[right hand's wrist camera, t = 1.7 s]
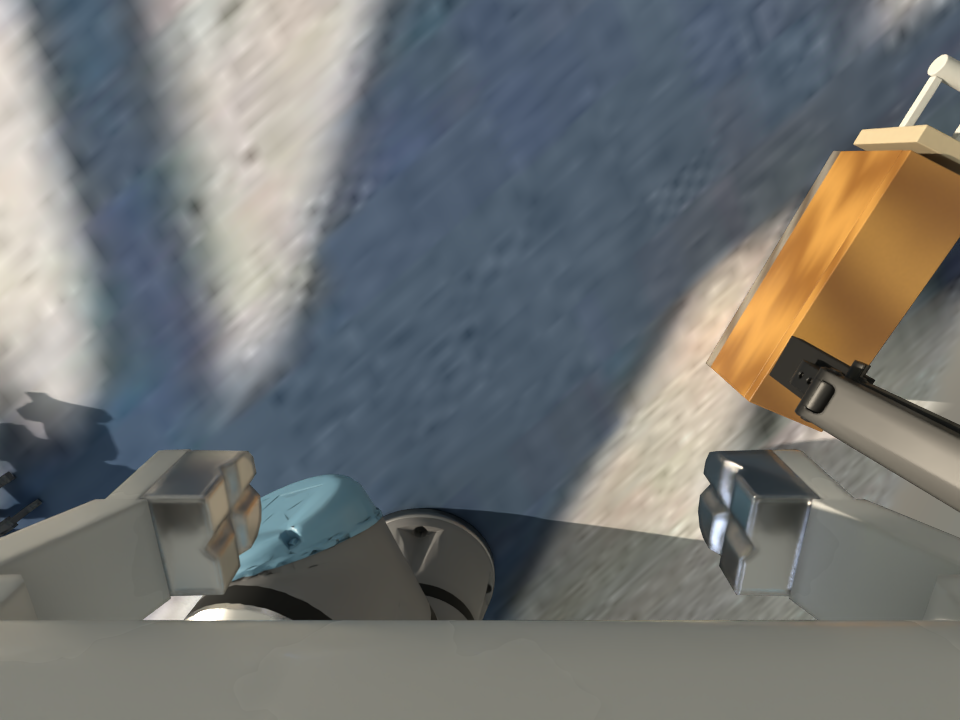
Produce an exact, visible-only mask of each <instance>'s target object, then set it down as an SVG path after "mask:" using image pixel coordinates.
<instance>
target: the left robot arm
mask: <svg viewBox="0 0 960 720" xmlns="http://www.w3.org/2000/svg"><path fill="white" fill-rule="evenodd" d="M870 367H871V366H870V365H868V364H865V363H863V362H860V361H858V360H854V362H853V364H852V365H851V366H849V365H847V364H846V363H844V362H842V361H840V360H839V359H837V358H835V357H833V356H831V355H830V354H828V353H826V352H824V351H823V350H821V349H819V348H817V347H815V346H814V345H812V344H810V343H808V342H806V341H805V340H803V339H800V338H798V337H795V336H791V338H790V339H789V341H788V343H787V345H786V346H785V348H784V350H783V352H782V353H781V355H780V357H779V359H778V360H777V362H776V364H775V365H774V367H773V369H772V371H771V372H770V374H769V375H770V376H771V377H772V378H774V379H775V380H776V381H778V382H779V383H780V384H782V385H783V386H784V387H786V388H787V389H788V390H790V391H791V392H792V393H794V394H795V395H796V396H798V397H799V398H800V399H801V401H800V402H799V404H798V406H797V407H796V409H795V411H794V412H795V413H796V414H797V415H798V416H800V418H801V419H803V420H804V421H806V422H809V423H812V424H814V425H816V426H817V427H819V428H821V429H822V430H824V431H826V432H827V433H829V434H831V435H832V436H834V437H836V438H837V439H839V440H841V441H842V442H844V443H846V444H847V445H849V446H851V447H852V448H854V449H856V450H857V451H859V452H860V453H862V454H864V455H865V456H867V457H869V458H870V459H872V460H874V461H875V462H877V463H879V464H880V465H882V466H884V467H885V468H887V469H889V470H890V471H892V472H894V473H895V474H897V475H899V476H900V477H902V478H904V479H905V480H907V481H909V482H910V483H912V484H914V485H915V486H917V487H919V488H920V489H922V490H924V491H925V492H927V493H929V494H930V495H932V496H934V497H935V498H937V499H938V500H940V501H942V502H943V503H945V504H947V505H948V506H950V507H952V508H953V509H955V510H957V511H959V512H960V425H959V424H957V423H954V422H952V421H950V420H948V419H946V418H944V417H942V416H939V415H937V414H935V413H933V412H931V411H929V410H927V409H924V408H922V407H920V406H918V405H916V404H914V403H911V402H909V401H907V400H905V399H903V398H901V397H899V396H896V395H894V394H892V393H890V392H888V391H886V390H884V389H881V388H879V387H877V386H875V385H873V383H874V381H875V380H874V379H872V378H871V377H869V376H867V375H866V373H867V371H868V370H869V368H870ZM260 499H261V506H262V515H261V524H260V528H259V532H258V536H257V538H256V540H255V542H254V544H253V546H252V547H251V548H250V549H249V550H247V551H246V552H244V553H242V554H241V555H239V559H240V565H241V566H240V568H239V570H238V571H237V573H236V575H235V576H234V578H233V580H232V582H231V583H230V585H229V587H228V588H227V590H226V592H225V593H224V595H203V596H202V598H201V599H200V600H199V601H198V602H197V604H196V605H195V606H194V608H193V609H192V610H191V611H190V613H189V614H188V615H187V616H186V618H185V619H184V620H482V619H483V617H484V615H485V612H486V610H487V607H488V605H489V603H490V600H491V597H492V593H493V589H494V582H495V571H494V560H493V556H492V553H491V550H490V548H489V546H488V544H487V542H486V541H485V539H484V538H483V537H482V535H481V534H480V533H479V532H478V531H477V530H476V529H475V528H474V527H473V526H471V525H470V524H469V523H467V522H466V521H464V520H462V519H460V518H459V517H457V516H454V515H452V514H449V513H446V512H443V511H439V510H433V509H407V510H401V511H397V512H394V513H391V514H388V515H386V516H384V517H383V516H382V512H381V510H379V508H376V507H375V506H374V504H373V503H372V501H371V500H370V498H369V496H368V495H367V493H366V492H365V490H364V489H363V487H362V486H361V485H360V484H359V483H358V482H357V481H354V480H353V479H352V478H350V477H347V476H344V475H339V474H328V475H321V476H315V477H312V478H308V479H304V480H301V481H298V482H296V483H293V484H290V485H288V486H285V487H283V488H281V489H278V490H276V491H274V492H272V493H270V494H268V495H266V496H264V497H262V498H260Z"/></svg>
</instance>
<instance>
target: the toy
mask: <svg viewBox="0 0 960 720" xmlns="http://www.w3.org/2000/svg"><path fill="white" fill-rule="evenodd" d="M13 479H15V477H14V476H13V475H12V474H11V473H10V472H7V473H6V474H4V475H3V476H1V477H0V488H1V487H3V486H4V485H6V484H7V483H9V482H10V481H12V480H13ZM40 504H42V503H41V502H40V501H39V500H38V499H37V500H36V501H34V502H33V503H31V504H29V505H28V506H26V507H25V508H24V509H22V510H21V511H20V512H19V513H17V514H16V515H15V516H13V517H12V518H11V517H10V516H9V517H7V518H6V519H4V520H3V521H2V522H0V537H1V536H3V535H4V534H6V533H7V532H9V531H10V530H12V529H14V528H15V527H16V526H17V525H18V524H17V522H18V521H19V520H20V519H22V518H23V517H24V516H25V515H27V514H28V513H29V512H31V511H32V510H34V509H35V508H36V507H38V506H39V505H40Z"/></svg>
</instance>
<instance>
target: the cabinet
mask: <svg viewBox="0 0 960 720" xmlns="http://www.w3.org/2000/svg"><path fill="white" fill-rule="evenodd" d="M959 238H960V175H959V174H957V173H955V172H953V171H951V170H949V169H947V168H945V167H943V166H941V165H939V164H937V163H936V162H934V161H932V160H930V159H928V158H926V157H924V156H922V155H920V154H918V153H916V152H914V151H912V150H882V151H833V152H832V154H831V156H830V157H829V159H828V161H827V162H826V164H825V166H824V167H823V169H822V171H821V172H820V174H819V176H818V177H817V179H816V181H815V182H814V184H813V186H812V187H811V189H810V191H809V192H808V194H807V196H806V197H805V199H804V201H803V202H802V204H801V206H800V207H799V209H798V211H797V212H796V214H795V216H794V217H793V219H792V221H791V222H790V224H789V226H788V227H787V229H786V231H785V232H784V234H783V236H782V237H781V239H780V241H779V242H778V244H777V246H776V247H775V249H774V251H773V252H772V254H771V256H770V257H769V259H768V261H767V262H766V264H765V266H764V267H763V269H762V271H761V272H760V274H759V276H758V277H757V279H756V281H755V282H754V284H753V286H752V287H751V289H750V291H749V292H748V294H747V296H746V297H745V299H744V301H743V302H742V304H741V306H740V307H739V309H738V311H737V312H736V314H735V316H734V317H733V319H732V321H731V322H730V324H729V326H728V327H727V329H726V331H725V332H724V334H723V336H722V337H721V339H720V341H719V342H718V344H717V346H716V347H715V349H714V351H713V352H712V354H711V356H710V357H709V359H708V361H707V362H706V364H707V365H708V366H710V367H711V368H712V369H713V370H714V371H716V372H717V373H718V374H719V375H720V376H721V377H722V378H723V379H724V380H726V381H727V382H728V383H729V384H730V385H731V386H732V387H733V388H734V389H735V390H737V391H738V392H739V393H740V394H741V395H742V396H743V397H745V398H746V399H747V400H748V401H749V402H751V403H754V404H756V405H758V406H761V407H763V408H765V409H768V410H770V411H773V412H775V413H777V414H780V415H782V416H784V417H787V418H789V419H792V420H794V421H796V422H799V423H801V424H804V425H806V426H808V427H811V428H813V429H815V430H818V431H820V432H822V431H823V430H822V429H821V428H819V427H817V426H816V425H814V424H812V423H809V422H806V421H804V420H803V419H801V418H800V416H798V415H797V414H796V413H795V412H794V411H795V409H796V407H797V406H798V404H799V402H800V401H801V399H800V398H799V397H798V396H796V395H795V394H794V393H792V392H791V391H790V390H788V389H787V388H786V387H784V386H783V385H782V384H780V383H779V382H778V381H776V380H775V379H774V378H772V377H771V376H770V375H769V374H770V372H771V371H772V369H773V367H774V365H775V364H776V362H777V360H778V359H779V357H780V355H781V353H782V352H783V350H784V348H785V346H786V345H787V343H788V341H789V339H790V338H791V336H795V337H798V338H800V339H803V340H805V341H806V342H808V343H810V344H812V345H814V346H815V347H817V348H819V349H821V350H823V351H824V352H826V353H828V354H830V355H831V356H833V357H835V358H837V359H839V360H840V361H842V362H844V363H846V364H847V365H849V366H851V365H852V364H853V362H854V360H858V361H860V362H863V363H865V364H868V365H870V363H871V362H872V361H873V359H874V358H875V356H876V355H877V353H878V352H879V351H880V349H881V348H882V346H883V345H884V344H885V342H886V341H887V339H888V338H889V337H890V335H891V334H892V332H893V331H894V329H895V328H896V327H897V325H898V324H899V322H900V321H901V320H902V318H903V317H904V315H905V314H906V312H907V311H908V310H909V308H910V307H911V305H912V304H913V303H914V301H915V300H916V298H917V297H918V296H919V294H920V293H921V291H922V290H923V288H924V287H925V286H926V284H927V283H928V281H929V280H930V279H931V277H932V276H933V274H934V273H935V271H936V270H937V269H938V267H939V266H940V264H941V263H942V262H943V260H944V259H945V257H946V256H947V255H948V253H949V252H950V250H951V249H952V247H953V246H954V245H955V243H956V242H957V240H958V239H959Z"/></svg>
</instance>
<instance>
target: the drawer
mask: <svg viewBox="0 0 960 720" xmlns="http://www.w3.org/2000/svg"><path fill="white" fill-rule="evenodd" d="M928 75H930V76H931V77H930V78H929V80H928V81H927V83H926V84H925V86H924V88H923V89H922V91H921V92H920V94H919V96H918V97H917V99H916V100H915V102H914V103H913V105H912V107H911V108H910V110H909V111H908V113H907V115H906V116H905V118H904V119H903V121H902V123H901V124H900V126H899V127H891V128H878V129H865V130H861V132H860V134H859V135H858V137H857V139H856V140H855V142H854V145H856V146H858V147H859V148H861V149H863V150H865V151H882V150H912V151H914V152H916V153H918V154H920V155H922V156H924V157H926V158H928V159H930V160H932V161H934V162H936V163H937V164H939V165H941V166H943V167H945V168H947V169H949V170H951V171H953V172H955V173H957V174H959V175H960V125H959V127H958V128H957V130H956V131H955V133H954V134H953V136H952V137H950V136H948V135H946V134H944V133H942V132H940V131H939V130H937V129H935V128H933V127H931V126H929V125H917V126H913V125H914V124H915V122H916V121H917V119H918V118H919V116H920V114H921V113H922V111H923V110H924V108H925V107H926V105H927V103H928V102H929V100H930V99H931V97H932V96H933V94H934V92H935V91H936V89H937V88H938V86H939V85H940V83H941V82H943V83H944V84H946V85H948V86H950V87H952V88H954V89H956V90H957V91H959V92H960V61H958V60H956V59H954V58H952V57H950V56H949V55H947V54H944V55H941V56H940V57H938V58H937V59H936V60H935V61H934V62H933V63H932V64H931V66H930V67H929V69H928Z"/></svg>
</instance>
